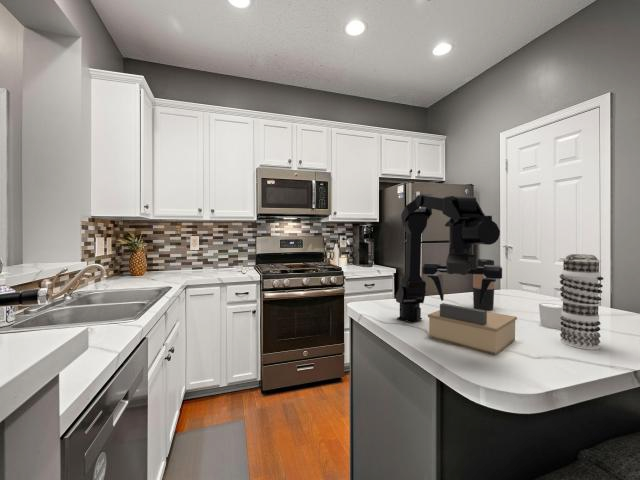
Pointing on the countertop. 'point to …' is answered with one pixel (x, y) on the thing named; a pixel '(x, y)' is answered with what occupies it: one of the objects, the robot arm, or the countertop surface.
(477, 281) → the travel mug
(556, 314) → the shot glass
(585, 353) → the countertop surface
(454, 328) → the carton
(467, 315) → the carton lid
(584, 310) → the decorative candle
